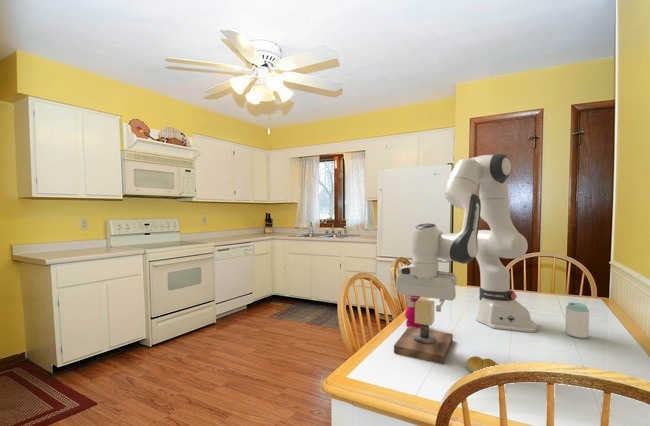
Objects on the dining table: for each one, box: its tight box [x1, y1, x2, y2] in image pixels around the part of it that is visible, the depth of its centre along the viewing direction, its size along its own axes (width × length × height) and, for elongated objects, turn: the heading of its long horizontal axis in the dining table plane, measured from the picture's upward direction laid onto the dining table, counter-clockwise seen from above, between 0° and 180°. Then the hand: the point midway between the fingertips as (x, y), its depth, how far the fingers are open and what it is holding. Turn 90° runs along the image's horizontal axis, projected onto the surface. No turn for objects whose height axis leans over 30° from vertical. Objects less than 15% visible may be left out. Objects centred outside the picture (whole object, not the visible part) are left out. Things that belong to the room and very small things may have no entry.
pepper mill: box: [404, 295, 421, 328], centre depth 134 cm, size 7×7×20 cm
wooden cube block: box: [415, 298, 435, 327], centre depth 114 cm, size 6×6×7 cm
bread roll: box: [466, 356, 499, 374], centre depth 97 cm, size 8×9×4 cm
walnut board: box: [393, 324, 454, 365], centre depth 114 cm, size 16×20×10 cm
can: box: [564, 301, 590, 340], centre depth 124 cm, size 7×7×12 cm
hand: (424, 309), depth 114 cm, fingers open, 8 cm apart
